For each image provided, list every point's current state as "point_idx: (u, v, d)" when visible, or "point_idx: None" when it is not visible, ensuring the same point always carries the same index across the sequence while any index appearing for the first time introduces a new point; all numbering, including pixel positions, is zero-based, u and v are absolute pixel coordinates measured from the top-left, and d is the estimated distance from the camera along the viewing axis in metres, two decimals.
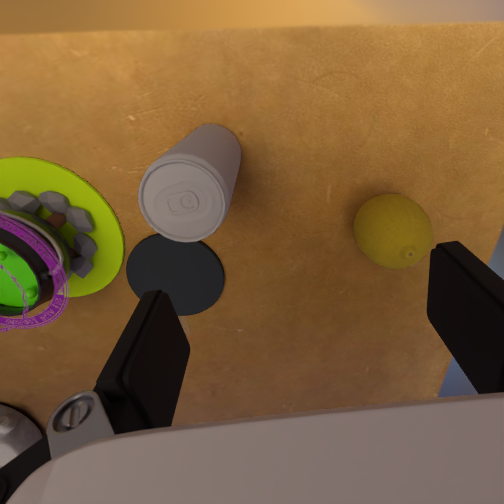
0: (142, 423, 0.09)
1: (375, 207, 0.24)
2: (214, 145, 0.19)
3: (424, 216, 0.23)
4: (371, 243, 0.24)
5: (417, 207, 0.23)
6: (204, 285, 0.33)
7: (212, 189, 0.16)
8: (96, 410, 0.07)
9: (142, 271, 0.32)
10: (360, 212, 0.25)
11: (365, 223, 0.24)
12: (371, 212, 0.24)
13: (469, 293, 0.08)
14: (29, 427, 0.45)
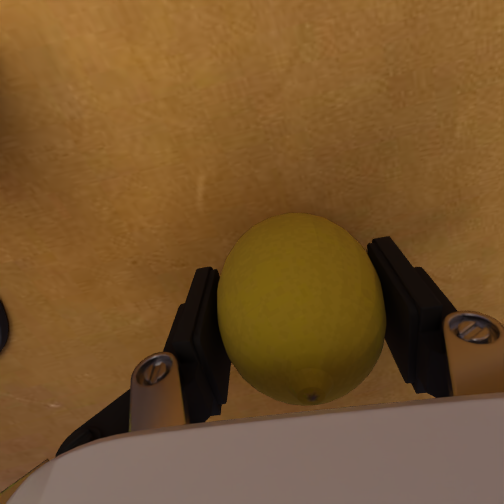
0: (207, 385, 0.09)
1: (259, 242, 0.10)
2: None
3: (371, 288, 0.09)
4: (228, 336, 0.09)
5: (358, 261, 0.09)
6: None
7: None
8: (176, 367, 0.08)
9: None
10: (234, 247, 0.11)
11: (229, 278, 0.10)
12: (247, 253, 0.10)
13: (388, 282, 0.09)
14: None
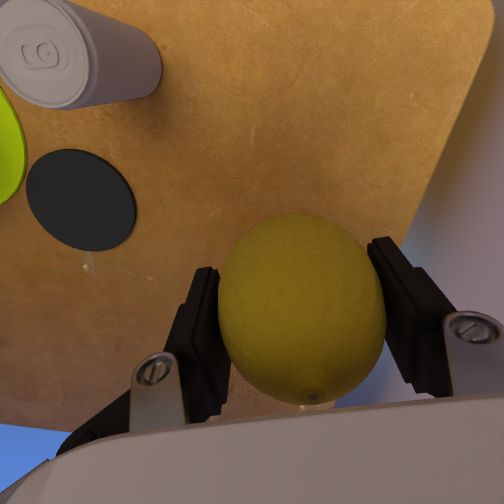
0: (207, 385, 0.09)
1: (260, 243, 0.10)
2: (105, 19, 0.17)
3: (371, 289, 0.09)
4: (229, 335, 0.09)
5: (358, 261, 0.09)
6: (112, 218, 0.31)
7: (74, 42, 0.14)
8: (176, 367, 0.08)
9: (44, 190, 0.29)
10: (235, 247, 0.11)
11: (230, 278, 0.10)
12: (248, 254, 0.10)
13: (388, 282, 0.09)
14: None
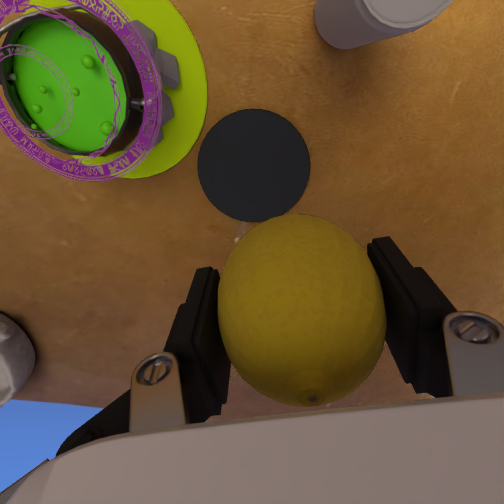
0: (207, 385, 0.09)
1: (260, 244, 0.10)
2: None
3: (371, 290, 0.09)
4: (228, 337, 0.09)
5: (358, 263, 0.09)
6: (283, 186, 0.29)
7: None
8: (176, 367, 0.08)
9: (218, 155, 0.28)
10: (235, 248, 0.11)
11: (229, 279, 0.10)
12: (247, 255, 0.10)
13: (388, 282, 0.09)
14: (25, 342, 0.38)
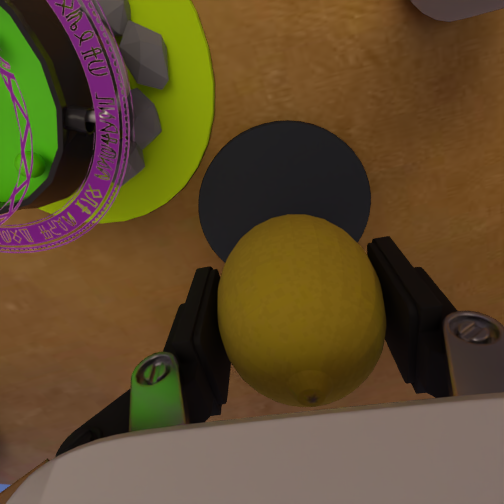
0: (207, 385, 0.09)
1: (259, 244, 0.10)
2: None
3: (371, 291, 0.09)
4: (228, 337, 0.09)
5: (358, 263, 0.09)
6: None
7: None
8: (176, 367, 0.08)
9: (230, 191, 0.18)
10: (234, 249, 0.11)
11: (229, 280, 0.10)
12: (247, 255, 0.10)
13: (388, 282, 0.09)
14: None
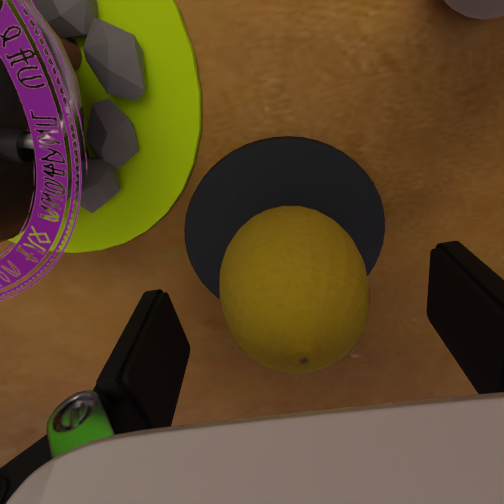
0: (141, 423, 0.09)
1: (257, 230, 0.11)
2: None
3: (355, 269, 0.10)
4: (230, 311, 0.10)
5: (344, 246, 0.10)
6: None
7: None
8: (96, 410, 0.07)
9: (221, 217, 0.15)
10: (235, 236, 0.12)
11: (230, 262, 0.11)
12: (246, 240, 0.11)
13: (469, 293, 0.08)
14: None
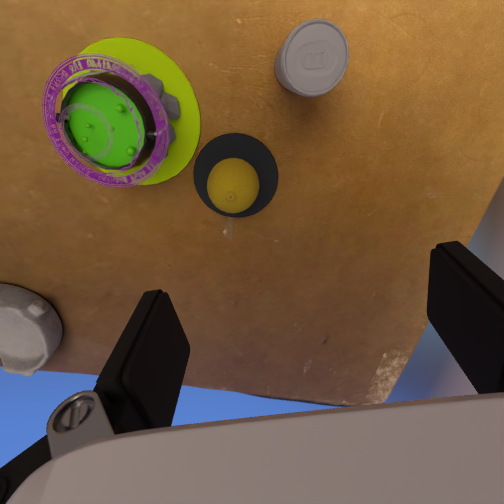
0: (141, 423, 0.09)
1: (219, 164, 0.32)
2: None
3: (249, 174, 0.32)
4: (210, 188, 0.32)
5: (246, 167, 0.32)
6: None
7: (341, 51, 0.22)
8: (96, 410, 0.07)
9: (209, 167, 0.37)
10: None
11: (210, 174, 0.32)
12: (215, 167, 0.32)
13: (469, 293, 0.08)
14: (55, 318, 0.47)
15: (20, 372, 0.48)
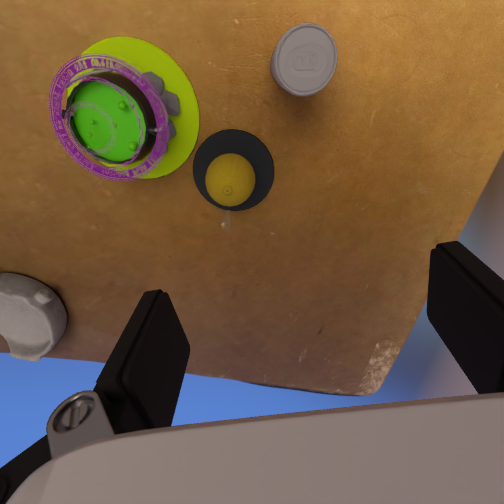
0: (142, 423, 0.09)
1: (217, 159, 0.34)
2: None
3: (245, 168, 0.33)
4: (207, 182, 0.33)
5: (243, 162, 0.33)
6: (255, 184, 0.40)
7: (330, 54, 0.23)
8: (96, 410, 0.07)
9: (207, 162, 0.39)
10: None
11: (208, 169, 0.34)
12: (213, 162, 0.34)
13: (469, 293, 0.08)
14: (60, 306, 0.49)
15: (27, 358, 0.50)
